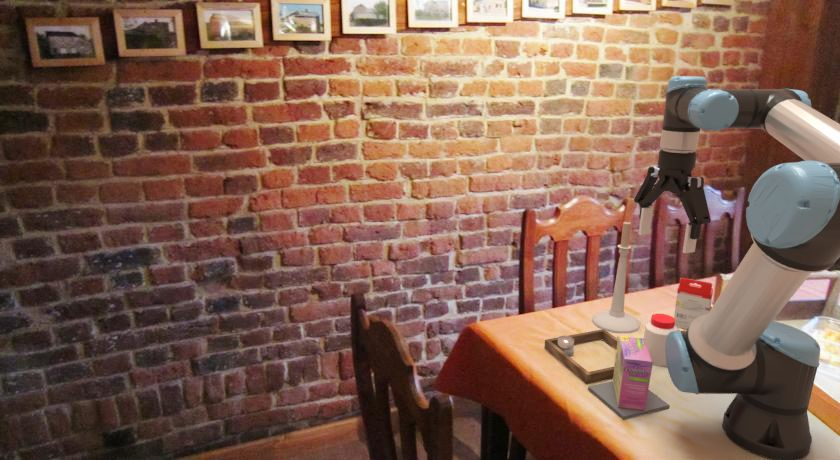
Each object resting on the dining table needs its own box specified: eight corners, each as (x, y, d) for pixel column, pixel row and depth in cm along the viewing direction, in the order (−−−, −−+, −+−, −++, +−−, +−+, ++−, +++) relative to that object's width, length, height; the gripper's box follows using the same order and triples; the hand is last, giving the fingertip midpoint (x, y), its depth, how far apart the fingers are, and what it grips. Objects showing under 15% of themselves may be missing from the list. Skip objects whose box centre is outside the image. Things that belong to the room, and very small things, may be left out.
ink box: (707, 327, 161) (715, 278, 156) (705, 334, 157) (713, 283, 152) (675, 319, 165) (682, 271, 161) (672, 326, 161) (679, 277, 157)
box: (646, 411, 121) (653, 361, 118) (617, 408, 122) (623, 358, 119) (638, 384, 131) (644, 337, 127) (612, 382, 132) (617, 335, 128)
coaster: (669, 408, 123) (669, 405, 123) (623, 419, 120) (623, 416, 119) (631, 379, 134) (631, 376, 134) (588, 389, 130) (588, 386, 130)
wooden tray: (649, 370, 138) (650, 361, 138) (586, 384, 132) (587, 374, 132) (602, 337, 155) (603, 329, 154) (544, 348, 149) (545, 339, 148)
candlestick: (589, 328, 160) (599, 224, 151) (595, 310, 171) (604, 212, 162) (638, 336, 155) (652, 230, 146) (640, 317, 166) (653, 217, 157)
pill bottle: (679, 357, 144) (685, 317, 141) (667, 369, 139) (673, 328, 136) (648, 347, 149) (653, 308, 146) (636, 358, 144) (641, 318, 141)
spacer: (576, 355, 145) (577, 341, 144) (562, 358, 144) (563, 344, 143) (567, 348, 149) (568, 334, 147) (553, 351, 147) (554, 337, 146)
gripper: (740, 158, 115) (723, 258, 121) (650, 140, 137) (640, 226, 143) (711, 160, 112) (696, 262, 119) (625, 142, 134) (615, 229, 141)
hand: (665, 242), depth 131 cm, fingers open, 13 cm apart
